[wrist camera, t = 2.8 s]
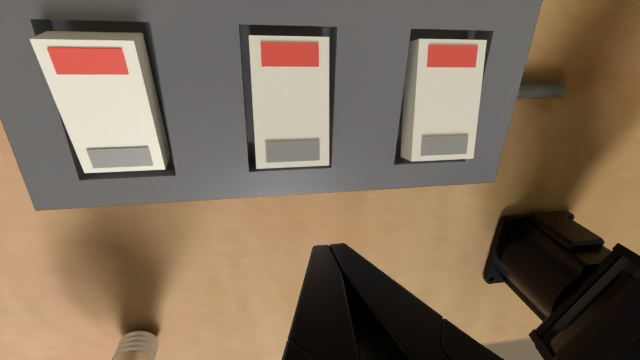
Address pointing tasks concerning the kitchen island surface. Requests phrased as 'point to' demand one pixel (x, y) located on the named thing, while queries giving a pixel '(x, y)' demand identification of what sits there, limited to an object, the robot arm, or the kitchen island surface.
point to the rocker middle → (290, 100)
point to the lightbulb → (137, 346)
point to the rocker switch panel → (236, 94)
